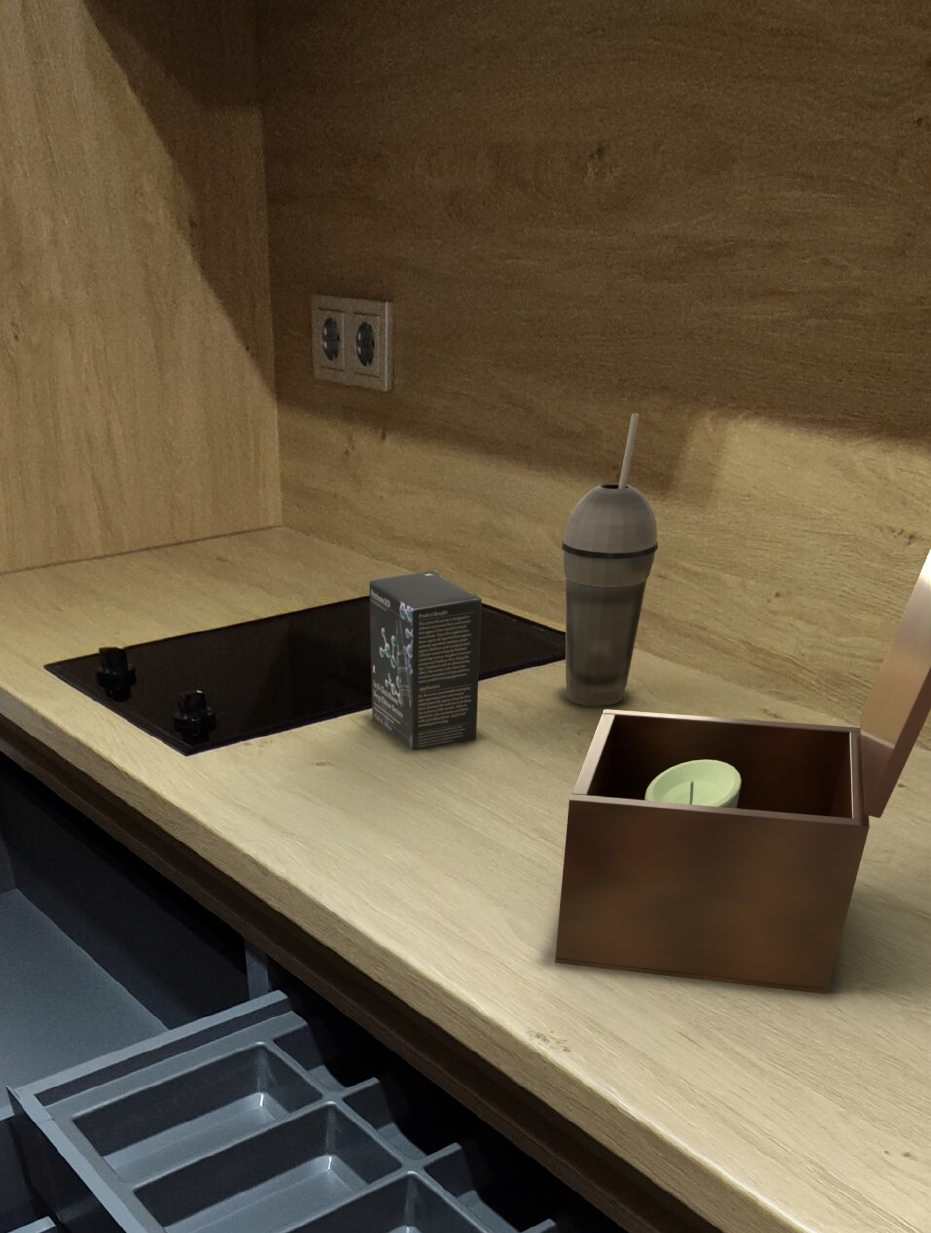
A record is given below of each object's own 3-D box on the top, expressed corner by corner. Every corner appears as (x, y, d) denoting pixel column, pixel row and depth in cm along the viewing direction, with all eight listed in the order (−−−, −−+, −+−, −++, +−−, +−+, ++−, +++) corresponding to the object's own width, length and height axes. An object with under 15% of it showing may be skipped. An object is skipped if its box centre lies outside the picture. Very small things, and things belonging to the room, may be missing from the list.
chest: (553, 971, 69) (569, 799, 63) (587, 866, 79) (604, 708, 73) (824, 1002, 66) (869, 826, 60) (825, 890, 76) (864, 727, 70)
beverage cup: (588, 682, 105) (614, 400, 92) (657, 702, 101) (695, 410, 88) (531, 703, 102) (549, 413, 88) (600, 725, 98) (630, 424, 84)
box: (370, 725, 99) (367, 579, 92) (434, 713, 100) (436, 569, 93) (411, 758, 93) (411, 606, 86) (478, 746, 95) (484, 595, 88)
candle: (674, 942, 70) (697, 799, 64) (612, 909, 73) (629, 770, 68) (735, 916, 72) (762, 776, 67) (672, 885, 75) (693, 749, 70)
